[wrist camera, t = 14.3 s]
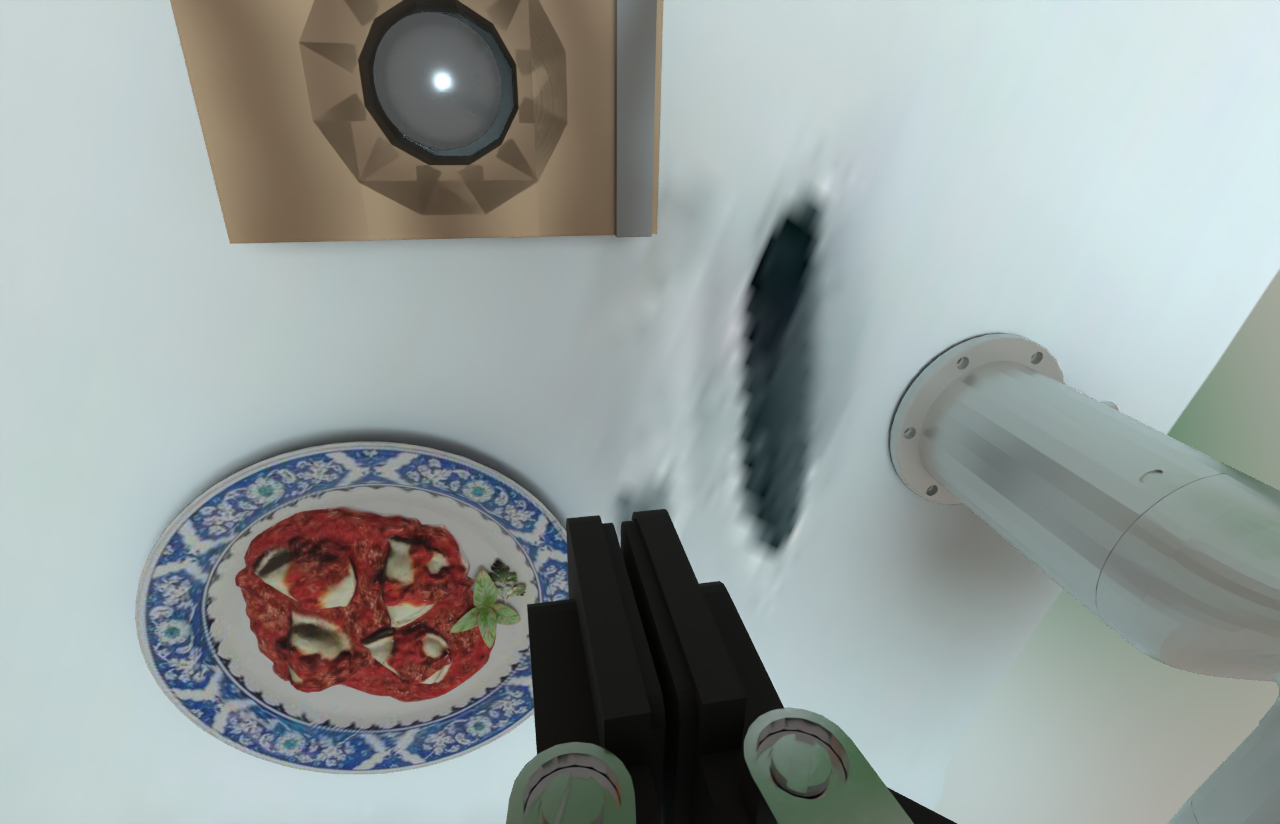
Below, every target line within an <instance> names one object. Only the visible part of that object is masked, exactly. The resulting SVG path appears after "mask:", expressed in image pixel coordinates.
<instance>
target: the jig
mask: <svg viewBox="0 0 1280 824" xmlns="http://www.w3.org/2000/svg"><path fill="white" fill-rule="evenodd" d="M170 2H171V6H172V10H173V14H174V18H175V22H176V26H177V30H178V34H179V38H180V42H181V46H182V50H183V54H184V58H185V63H186V67H187V71H188V75H189V79H190V83H191V87H192V91H193V95H194V99H195V103H196V107H197V111H198V115H199V119H200V124H201V128H202V132H203V136H204V140H205V144H206V148H207V152H208V156H209V160H210V164H211V168H212V172H213V176H214V180H215V184H216V189H217V193H218V197H219V201H220V205H221V209H222V213H223V217H224V221H225V225H226V229H227V233H228V237H229V241H230V244H231V243H276V242H320V241H364V240H408V239H452V238H496V237H540V236H584V235H615V236H616V237H649V236H651V234H657V213H658V175H659V138H660V101H661V64H662V26H663V0H170ZM421 11H429V12H452V13H460V14H461V15H463V16H464V17H466V18H467V19H469V20H470V21H472V22H473V23H475V24H476V25H478V26H479V27H481V28H482V29H484V30H486V31H487V32H489V33H490V34H492V36H493V38H494V39H495V41H496V43H497V45H498V46H499V48H500V50H501V52H502V53H503V55H504V57H505V59H506V60H507V62H508V64H509V66H510V67H511V69H512V85H513V101H514V108H513V110H512V112H511V114H510V116H509V118H508V120H507V122H506V125H505V127H504V129H503V131H502V133H501V135H500V137H499V139H497V140H496V141H494V142H492V143H491V144H489V145H488V146H486V147H485V148H483V149H481V150H480V151H478V152H477V153H475V154H473V155H472V156H436V155H434V154H432V153H430V152H429V151H427V150H425V149H423V148H421V147H420V146H418V145H416V144H414V143H413V142H411V141H409V140H407V139H405V138H404V137H403V135H402V134H401V132H400V131H399V129H398V128H397V127H396V126H395V125H394V124H393V123H392V121H391V120H390V119H389V118H388V116H387V115H386V113H385V111H384V110H383V108H382V106H381V103H380V101H379V99H378V96H377V93H376V89H375V84H374V74H373V72H374V60H375V55H376V52H377V49H378V46H379V44H380V42H381V40H382V38H383V37H384V35H385V34H386V32H387V31H388V30H389V29H390V28H391V27H392V26H393V25H394V24H396V23H397V22H398V21H400V20H401V19H403V18H405V17H407V16H410V15H413V14H416V13H419V12H421Z"/></svg>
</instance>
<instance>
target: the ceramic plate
mask: <svg viewBox="0 0 1280 824" xmlns="http://www.w3.org/2000/svg"><path fill="white" fill-rule="evenodd" d="M567 599H569V593H568V561H567V532H566V530H565V529H564V527H563V526H562V524H561V523H560V522H559V521H558V520H557V519H556V518H555V516H554V515H553V514H552V513H551V512H550V511H549V510H548V509H547V508H546V506H545V505H544V504H543V503H542V502H540V501H539V500H538V499H537V498H536V497H535V496H533V495H532V494H531V493H530V492H529V491H527V490H526V489H524V488H523V487H522V486H520V485H519V484H517V483H516V482H514V481H513V480H511V479H510V478H508V477H506V476H504V475H503V474H501V473H499V472H497V471H496V470H494V469H491V468H489V467H487V466H484V465H482V464H480V463H477V462H475V461H473V460H470V459H468V458H466V457H463V456H459V455H456V454H452V453H448V452H445V451H441V450H437V449H433V448H430V447H424V446H417V445H411V444H405V443H393V442H345V443H333V444H326V445H320V446H314V447H308V448H303V449H299V450H296V451H292V452H288V453H284V454H280V455H278V456H275V457H272V458H269V459H266V460H263V461H260V462H258V463H256V464H253V465H251V466H249V467H247V468H245V469H242V470H240V471H238V472H236V473H234V474H233V475H231V476H229V477H227V478H226V479H224V480H222V481H220V482H219V483H217V484H215V485H214V486H213V487H211V488H210V489H209V490H207V491H206V492H204V493H203V494H202V495H200V496H199V497H198V498H196V499H195V500H194V501H193V502H192V503H191V504H190V505H189V506H187V507H186V508H185V509H184V510H183V511H182V512H181V513H180V514H179V515H178V516H177V517H176V518H175V520H174V521H173V522H172V523H171V524H170V525H169V526H168V527H167V529H166V530H165V531H164V532H163V534H162V535H161V537H160V538H159V540H158V541H157V543H156V544H155V546H154V547H153V550H152V552H151V554H150V556H149V558H148V560H147V562H146V565H145V567H144V569H143V572H142V575H141V578H140V581H139V586H138V591H137V597H136V614H135V619H136V628H137V636H138V640H139V643H140V647H141V651H142V654H143V656H144V659H145V661H146V664H147V666H148V668H149V670H150V672H151V674H152V675H153V677H154V679H155V681H156V682H157V684H158V685H159V687H160V688H161V689H162V691H163V692H164V693H165V695H166V696H167V697H168V699H169V700H170V701H171V702H172V703H173V704H174V705H175V706H176V707H177V708H178V709H179V710H180V711H181V712H182V713H183V714H184V715H185V716H186V717H188V718H189V719H190V720H191V721H192V722H193V723H194V724H196V725H197V726H198V727H200V728H201V729H203V730H204V731H206V732H207V733H209V734H210V735H212V736H213V737H215V738H217V739H219V740H220V741H222V742H224V743H226V744H227V745H230V746H232V747H234V748H236V749H238V750H240V751H242V752H244V753H247V754H249V755H252V756H254V757H257V758H260V759H263V760H266V761H270V762H273V763H276V764H280V765H283V766H287V767H291V768H296V769H302V770H309V771H315V772H323V773H333V774H384V773H391V772H398V771H404V770H410V769H415V768H421V767H426V766H430V765H434V764H437V763H441V762H444V761H447V760H451V759H454V758H458V757H460V756H463V755H465V754H467V753H470V752H472V751H474V750H476V749H478V748H480V747H483V746H485V745H487V744H489V743H491V742H493V741H495V740H496V739H498V738H500V737H502V736H504V735H506V734H507V733H509V732H510V731H512V730H513V729H514V728H516V727H517V726H519V725H520V724H521V723H522V722H524V721H525V720H526V719H528V718H529V717H530V716H531V715H533V714H534V701H533V687H532V672H531V658H530V643H529V628H528V613H527V604H534V603H542V602H551V601H559V600H567Z"/></svg>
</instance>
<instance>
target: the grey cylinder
mask: <svg viewBox="0 0 1280 824" xmlns="http://www.w3.org/2000/svg"><path fill="white" fill-rule="evenodd" d="M373 74H374V84H375V89H376V93H377V96H378V99H379V101H380V103H381V106H382V108H383V110H384V111H385V113H386V115H387V116H388V118H389V119H390V120H391V121H392V123H393V124H394V125H395V126H396V127H397V128H398V129H399V130H400V131H401V132H402V133H404V134H405V135H406V136H407V137H409V138H411V139H412V140H414V141H416V142H418V143H420V144H422V145H425V146H428V147H431V148H436V149H455V148H460V147H463V146H466V145H469V144H471V143H472V142H474V141H476V140H477V139H479V138H480V137H481V136H482V135H483V134H484V133H485V132H486V131H487V130H488V129H489V128H490V126H491V125H492V123H493V122H494V120H495V118H496V116H497V113H498V110H499V107H500V102H501V94H502V84H501V76H500V72H499V68H498V65H497V62H496V60H495V57H494V55H493V53H492V51H491V50H490V48H489V47H488V45H487V44H486V42H485V41H484V40H483V38H482V37H481V36H480V35H479V34H478V33H477V32H476V31H475V30H474V29H473V28H471V27H470V26H469V25H467V24H466V23H464V22H462V21H461V20H459V19H457V18H455V17H452V16H450V15H446V14H442V13H436V12H422V13H416V14H413V15H410V16H407V17H405V18H403V19H401V20H400V21H398V22H397V23H396V24H394V25H393V26H392V27H391V28H390V29H389V30H388V31H387V32H386V34H385V35H384V37H383V38H382V40H381V42H380V44H379V46H378V49H377V52H376V55H375V60H374V72H373Z"/></svg>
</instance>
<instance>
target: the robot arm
mask: <svg viewBox="0 0 1280 824" xmlns="http://www.w3.org/2000/svg"><path fill="white" fill-rule="evenodd" d="M890 451H891V457H892V462H893V465H894V467H895V469H896V472H897V474H898V475H899V477H900V478H901V479H902V480H903V482H904V483H905V484H906V485H907V486H908V487H909V488H910V489H912V490H913V491H914V492H915V493H916V494H917V495H919V496H921V497H922V498H924V499H926V500H928V501H932V502H935V503H939V504H949V505H956V504H964V505H965V506H966V507H968V508H969V509H970V510H971V511H972V512H973V513H975V514H976V515H977V516H978V517H979V518H981V519H982V520H983V521H984V522H985V523H986V524H988V525H989V526H990V527H991V528H992V529H994V530H995V531H996V532H997V533H998V534H999V535H1001V536H1002V537H1003V538H1004V539H1005V540H1007V541H1008V542H1009V543H1010V544H1011V545H1012V546H1014V547H1015V548H1016V549H1017V550H1018V551H1020V552H1021V553H1022V554H1023V555H1024V556H1026V557H1027V558H1028V559H1029V560H1030V561H1031V562H1033V563H1034V564H1035V565H1036V566H1037V567H1039V568H1040V569H1041V570H1042V571H1043V572H1044V573H1046V574H1047V575H1048V576H1049V577H1050V578H1052V579H1053V580H1054V581H1055V582H1056V583H1057V584H1059V585H1060V586H1061V587H1062V588H1063V589H1065V590H1066V591H1067V592H1068V593H1069V594H1071V595H1072V596H1073V597H1074V598H1075V599H1076V600H1078V601H1079V602H1080V603H1081V604H1083V605H1084V606H1085V607H1086V608H1087V609H1088V610H1090V611H1091V612H1092V613H1093V614H1094V615H1096V616H1097V617H1098V618H1099V619H1100V620H1101V621H1103V622H1104V623H1105V624H1106V625H1107V626H1109V627H1110V628H1111V629H1112V630H1113V631H1115V632H1116V633H1117V634H1118V635H1120V636H1121V637H1122V638H1123V639H1124V640H1125V641H1127V642H1128V643H1130V644H1131V645H1132V646H1134V647H1135V648H1136V649H1138V650H1139V651H1141V652H1142V653H1144V654H1146V655H1148V656H1150V657H1151V658H1153V659H1155V660H1157V661H1160V662H1162V663H1164V664H1167V665H1169V666H1171V667H1174V668H1178V669H1181V670H1185V671H1189V672H1193V673H1197V674H1203V675H1209V676H1216V677H1225V678H1235V679H1247V680H1259V681H1272V682H1276V683H1277V684H1278V686H1279V696H1278V698H1277V700H1276V702H1275V704H1274V705H1273V706H1272V707H1271V709H1270V710H1269V711H1268V712H1267V713H1266V715H1265V716H1264V717H1263V718H1262V719H1261V720H1260V722H1259V726H1258V727H1257V728H1256V729H1255V730H1254V731H1253V732H1252V733H1251V734H1250V735H1249V736H1248V737H1247V738H1246V739H1245V740H1244V741H1243V742H1242V743H1241V744H1240V745H1239V746H1238V747H1237V748H1236V750H1235V751H1234V752H1233V753H1232V754H1231V755H1230V756H1229V757H1228V758H1227V759H1226V760H1225V761H1224V762H1223V763H1222V764H1221V765H1220V766H1219V767H1218V768H1217V769H1216V770H1215V771H1214V772H1213V773H1212V774H1211V775H1210V777H1209V778H1208V779H1207V780H1206V781H1205V782H1204V783H1203V784H1202V785H1201V786H1200V787H1199V788H1198V789H1197V790H1196V791H1195V793H1194V794H1193V795H1192V796H1191V797H1190V798H1189V799H1188V800H1187V801H1186V802H1185V803H1184V805H1183V806H1182V807H1181V808H1180V809H1179V810H1178V812H1177V813H1176V814H1175V815H1174V817H1173V818H1172V819H1171V820H1170V822H1169V823H1168V824H1280V491H1279V490H1277V489H1275V488H1273V487H1271V486H1269V485H1267V484H1265V483H1263V482H1261V481H1259V480H1257V479H1255V478H1253V477H1251V476H1249V475H1247V474H1245V473H1243V472H1241V471H1238V470H1236V469H1234V468H1232V467H1230V466H1228V465H1226V464H1224V463H1222V462H1220V461H1218V460H1216V459H1214V458H1212V457H1210V456H1208V455H1206V454H1204V453H1202V452H1200V451H1198V450H1196V449H1194V448H1192V447H1190V446H1188V445H1186V444H1184V443H1182V442H1180V441H1178V440H1175V439H1174V438H1172V437H1170V436H1167V435H1165V434H1163V433H1161V432H1159V431H1157V430H1155V429H1153V428H1151V427H1149V426H1147V425H1145V424H1143V423H1141V422H1139V421H1137V420H1135V419H1133V418H1131V417H1129V416H1127V415H1125V414H1123V413H1121V412H1119V411H1118V408H1117V406H1116V405H1115V404H1114V403H1113V402H1109V401H1106V402H1099V401H1096V400H1094V399H1092V398H1090V397H1088V396H1086V395H1084V394H1082V393H1080V392H1078V391H1076V390H1074V389H1072V388H1070V387H1068V386H1066V385H1065V383H1064V379H1063V374H1062V371H1061V369H1060V367H1059V365H1058V363H1057V361H1056V359H1055V358H1054V357H1053V356H1052V355H1051V354H1050V352H1049V351H1048V350H1047V349H1045V348H1044V347H1042V346H1040V345H1039V344H1037V343H1035V342H1033V341H1031V340H1028V339H1026V338H1023V337H1021V336H1017V335H1011V334H988V335H984V336H981V337H977V338H973V339H970V340H968V341H966V342H963V343H961V344H959V345H957V346H955V347H953V348H951V349H950V350H948V351H947V352H945V353H944V354H942V355H941V356H939V357H938V358H937V359H936V360H935V361H933V362H932V363H931V364H930V365H929V366H928V367H927V368H925V369H924V370H923V372H922V373H921V374H920V375H919V376H918V377H917V379H916V380H915V381H914V382H913V383H912V385H911V386H910V388H909V389H908V391H907V393H906V394H905V396H904V397H903V399H902V401H901V403H900V405H899V408H898V410H897V412H896V415H895V417H894V422H893V426H892V430H891V439H890ZM566 530H567V561H568V593H569V599H567V600H559V601H551V602H542V603H534V604H527V613H528V628H529V643H530V658H531V672H532V687H533V701H534V716H535V730H536V745H537V755H536V756H535V757H534V758H533V759H532V760H531V761H529V762H528V763H527V764H526V765H525V766H524V768H523V769H522V771H521V772H520V774H519V775H518V777H517V778H516V780H515V782H514V785H513V788H512V792H511V795H510V798H509V805H508V813H507V820H506V824H957V823H955V822H953V821H951V820H949V819H947V818H945V817H943V816H941V815H939V814H937V813H935V812H934V811H932V810H930V809H928V808H926V807H924V806H922V805H920V804H918V803H916V802H914V801H912V800H911V799H909V798H907V797H905V796H903V795H901V794H899V793H897V792H895V791H893V790H891V789H889V788H887V787H886V786H885V784H884V783H883V781H882V780H881V779H880V777H879V776H878V775H877V773H876V772H875V771H874V769H873V768H872V767H871V765H870V764H869V763H868V761H867V760H866V759H865V757H864V756H863V755H862V753H861V752H860V751H859V749H858V748H857V747H856V745H855V744H854V743H853V741H852V740H851V739H850V738H849V737H848V736H847V735H846V734H845V732H844V731H843V730H842V729H841V728H840V727H839V726H838V725H836V724H835V723H833V722H831V721H830V720H828V719H827V718H825V717H824V716H822V715H819V714H816V713H814V712H811V711H808V710H805V709H797V708H784V707H783V705H782V703H781V701H780V699H779V697H778V694H777V692H776V690H775V688H774V686H773V684H772V682H771V680H770V678H769V676H768V674H767V672H766V670H765V668H764V665H763V663H762V661H761V659H760V657H759V655H758V653H757V651H756V649H755V647H754V645H753V643H752V641H751V638H750V636H749V634H748V632H747V630H746V628H745V626H744V624H743V622H742V620H741V618H740V616H739V614H738V612H737V609H736V607H735V605H734V603H733V601H732V599H731V597H730V595H729V593H728V591H727V589H726V587H725V586H724V584H723V583H721V582H720V581H718V582H709V583H701V584H698V581H697V579H696V577H695V574H694V572H693V570H692V567H691V565H690V563H689V560H688V558H687V556H686V553H685V551H684V549H683V546H682V544H681V542H680V539H679V537H678V535H677V532H676V530H675V528H674V525H673V523H672V521H671V518H670V516H669V514H668V512H667V510H666V509H660V510H650V511H639V512H634V513H633V515H632V521H625V522H622V524H621V548H620V545H619V542H618V538H617V535H616V531H615V528H614V525H613V523H605V524H602V522H601V518H600V516H599V515H598V516H587V517H577V518H567V522H566Z"/></svg>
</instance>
